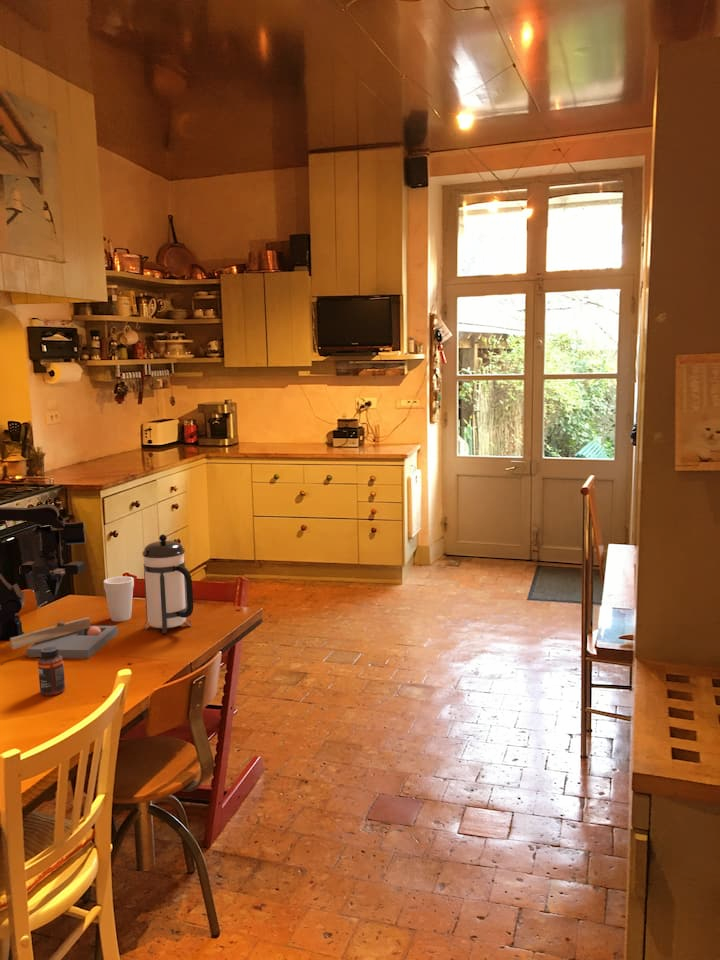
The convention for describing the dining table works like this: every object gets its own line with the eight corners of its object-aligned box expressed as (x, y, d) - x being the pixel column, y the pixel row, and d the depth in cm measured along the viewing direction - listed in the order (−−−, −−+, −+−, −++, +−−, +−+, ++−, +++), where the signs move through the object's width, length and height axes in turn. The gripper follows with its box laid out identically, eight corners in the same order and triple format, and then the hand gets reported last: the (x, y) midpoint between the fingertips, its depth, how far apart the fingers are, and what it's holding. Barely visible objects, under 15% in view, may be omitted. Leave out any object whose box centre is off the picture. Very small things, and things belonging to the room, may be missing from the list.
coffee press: (137, 637, 234) (131, 540, 230) (149, 620, 250) (144, 530, 246) (194, 635, 235) (189, 539, 231) (203, 619, 250) (198, 529, 246)
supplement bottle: (68, 686, 197) (65, 644, 196) (60, 696, 191) (57, 652, 190) (45, 687, 197) (42, 645, 195) (36, 697, 191) (33, 653, 190)
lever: (10, 648, 218) (9, 635, 217) (87, 626, 236) (86, 614, 235) (13, 649, 217) (12, 637, 216) (90, 627, 235) (90, 616, 234)
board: (27, 657, 218) (26, 649, 218) (61, 633, 239) (61, 625, 239) (88, 658, 217) (87, 650, 217) (117, 633, 238) (117, 625, 237)
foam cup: (126, 623, 247) (124, 584, 246) (100, 622, 249) (98, 583, 247) (140, 614, 257) (138, 576, 255) (115, 613, 258) (113, 575, 257)
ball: (83, 639, 232) (96, 644, 232) (85, 630, 230) (98, 635, 230) (90, 630, 235) (102, 635, 235) (92, 621, 233) (104, 626, 233)
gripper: (7, 551, 229) (11, 602, 232) (67, 551, 228) (71, 602, 230) (26, 543, 240) (30, 591, 243) (84, 543, 239) (87, 592, 241)
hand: (54, 594), depth 239 cm, fingers closed
